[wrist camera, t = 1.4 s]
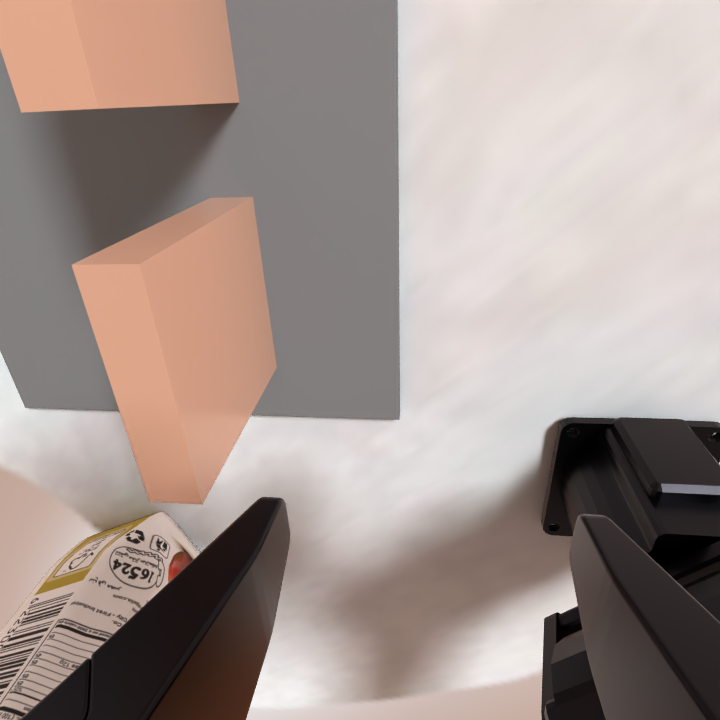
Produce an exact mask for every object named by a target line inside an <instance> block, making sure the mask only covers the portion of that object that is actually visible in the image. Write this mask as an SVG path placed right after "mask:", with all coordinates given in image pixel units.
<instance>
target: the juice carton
mask: <svg viewBox="0 0 720 720" xmlns="http://www.w3.org/2000/svg"><path fill="white" fill-rule="evenodd" d="M199 554H200V553H199V552H198V550H197V549H196V548H195V547H194V545H193V544H192V543H191V542H190V540H189V539H188V538H187V536H186V535H185V534H184V533H183V531H182V530H181V529H180V528H179V527H178V526H177V525H176V523H175V522H174V521H173V520H172V519H171V518H170V517H169V516H168V515H167V514H166V513H165V512H158V513H155V514H152V515H149V516H147V517H144V518H141V519H138V520H135V521H132V522H129V523H127V524H124V525H121V526H118V527H115V528H112V529H110V530H107V531H104V532H101V533H98V534H95V535H93V536H91V537H88V538H86V539H85V540H83V541H81V542H80V543H78V544H77V545H76V546H75V547H74V548H72V549H71V550H70V551H69V552H68V553H67V554H65V555H64V556H63V557H62V558H61V559H59V560H58V561H57V562H56V563H55V564H54V566H53V567H52V568H51V569H50V570H49V571H48V572H47V573H46V575H45V576H44V577H43V579H42V580H41V581H40V582H39V584H38V585H37V586H36V587H35V588H34V590H33V591H32V592H31V593H30V595H29V596H28V597H27V598H26V600H25V601H24V602H23V604H22V605H21V606H20V607H19V608H18V610H17V611H16V613H15V614H14V615H13V616H12V617H11V619H10V620H9V621H8V622H7V624H6V625H5V626H4V627H3V629H2V630H1V631H0V720H19V719H21V718H22V717H23V716H24V715H25V714H26V713H27V712H29V711H30V710H31V709H32V708H33V707H34V706H35V705H36V704H38V703H39V702H40V701H41V700H42V699H43V698H44V697H45V696H46V695H48V694H49V693H50V692H51V691H52V690H53V689H54V688H55V687H57V686H58V685H59V684H60V683H61V682H62V681H63V680H64V679H65V678H66V677H67V676H69V675H70V674H71V673H72V672H73V671H74V670H75V669H76V668H77V667H78V666H79V665H80V664H81V663H83V662H84V661H85V660H86V659H91V656H92V654H93V653H94V652H95V651H96V650H97V649H98V648H99V647H100V646H101V645H102V644H103V643H104V642H105V641H106V640H108V639H109V638H110V637H111V636H112V635H113V634H114V633H115V632H116V631H117V630H118V629H119V628H120V627H122V626H123V625H124V624H125V623H126V622H127V621H128V620H129V619H130V618H131V617H132V616H133V615H134V614H135V613H137V612H138V611H139V610H140V609H141V608H142V607H143V606H144V605H145V604H146V603H147V602H148V601H149V600H151V599H152V598H153V597H154V596H155V595H156V594H157V593H158V592H159V591H160V590H161V589H162V588H163V587H164V586H166V585H167V584H168V583H169V582H170V581H171V580H172V579H173V578H174V577H175V576H176V575H177V574H178V573H180V572H181V571H182V570H183V569H184V568H185V567H186V566H187V565H188V564H189V563H190V562H191V561H192V560H194V559H195V558H196V557H197V556H198V555H199Z"/></svg>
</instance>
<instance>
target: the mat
mask: <svg viewBox="0 0 720 720" xmlns="http://www.w3.org/2000/svg"><path fill="white" fill-rule="evenodd" d="M225 3H226V10H227V17H228V24H229V31H230V38H231V45H232V52H233V60H234V67H235V74H236V81H237V88H238V95H239V102H240V103H221V104H200V105H179V106H156V107H134V108H112V109H89V110H67V111H45V112H22V113H21V110H20V107H19V104H18V101H17V98H16V95H15V92H14V89H13V86H12V83H11V80H10V77H9V74H8V71H7V68H6V65H5V62H4V59H3V56H2V52H1V49H0V351H1V353H2V356H3V358H4V360H5V362H6V365H7V367H8V369H9V372H10V374H11V376H12V378H13V381H14V383H15V385H16V388H17V390H18V392H19V394H20V397H21V399H22V401H23V404H24V406H25V408H53V409H84V410H116V411H119V408H118V405H117V402H116V399H115V396H114V393H113V390H112V387H111V383H110V380H109V377H108V374H107V371H106V368H105V365H104V362H103V359H102V356H101V353H100V350H99V347H98V344H97V341H96V338H95V335H94V332H93V329H92V326H91V323H90V320H89V317H88V314H87V311H86V308H85V305H84V302H83V298H82V295H81V292H80V289H79V286H78V283H77V280H76V277H75V274H74V271H73V268H72V264H74V263H76V262H78V261H80V260H82V259H84V258H87V257H89V256H91V255H93V254H95V253H97V252H99V251H101V250H103V249H105V248H107V247H109V246H111V245H114V244H116V243H118V242H120V241H122V240H124V239H126V238H128V237H130V236H132V235H134V234H136V233H138V232H141V231H143V230H145V229H147V228H149V227H151V226H153V225H155V224H157V223H159V222H161V221H163V220H165V219H168V218H170V217H172V216H174V215H176V214H178V213H180V212H182V211H184V210H186V209H188V208H190V207H192V206H195V205H197V204H199V203H201V202H203V201H205V200H207V199H209V198H227V197H253V202H254V209H255V216H256V223H257V230H258V237H259V244H260V251H261V259H262V266H263V273H264V280H265V287H266V294H267V301H268V308H269V315H270V323H271V330H272V337H273V344H274V351H275V358H276V365H277V368H276V370H275V372H274V373H273V375H272V377H271V379H270V381H269V383H268V384H267V386H266V388H265V390H264V392H263V394H262V395H261V397H260V399H259V401H258V403H257V405H256V406H255V408H254V410H253V412H252V414H251V415H273V416H304V417H335V418H367V419H398V420H399V418H400V363H399V189H398V16H397V0H225Z"/></svg>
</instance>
